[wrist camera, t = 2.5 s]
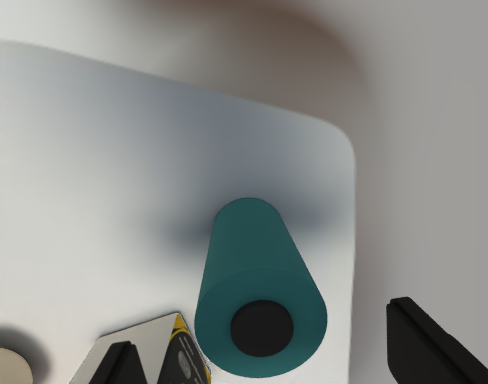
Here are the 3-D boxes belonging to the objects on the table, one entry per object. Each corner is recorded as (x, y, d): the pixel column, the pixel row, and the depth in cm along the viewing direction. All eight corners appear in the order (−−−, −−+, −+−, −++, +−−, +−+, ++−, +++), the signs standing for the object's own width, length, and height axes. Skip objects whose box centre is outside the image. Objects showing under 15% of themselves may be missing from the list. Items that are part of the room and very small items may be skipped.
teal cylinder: (206, 203, 18) (179, 283, 9) (279, 192, 18) (326, 260, 9) (219, 268, 19) (207, 395, 10) (287, 258, 19) (334, 374, 10)
